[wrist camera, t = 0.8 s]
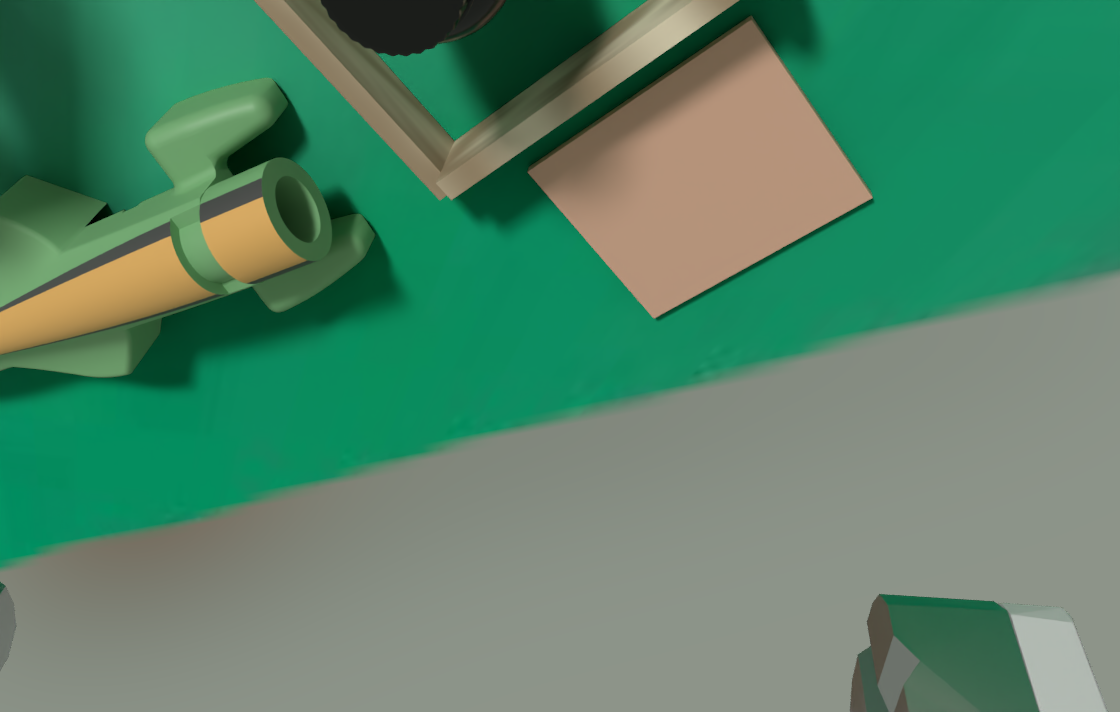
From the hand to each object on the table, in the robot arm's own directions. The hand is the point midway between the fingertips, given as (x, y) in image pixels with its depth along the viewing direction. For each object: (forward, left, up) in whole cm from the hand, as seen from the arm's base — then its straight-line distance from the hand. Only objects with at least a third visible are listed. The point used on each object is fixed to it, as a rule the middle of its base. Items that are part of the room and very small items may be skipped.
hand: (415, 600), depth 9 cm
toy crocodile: (+36, -1, -37) cm, 52 cm away
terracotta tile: (+7, +14, -37) cm, 40 cm away
